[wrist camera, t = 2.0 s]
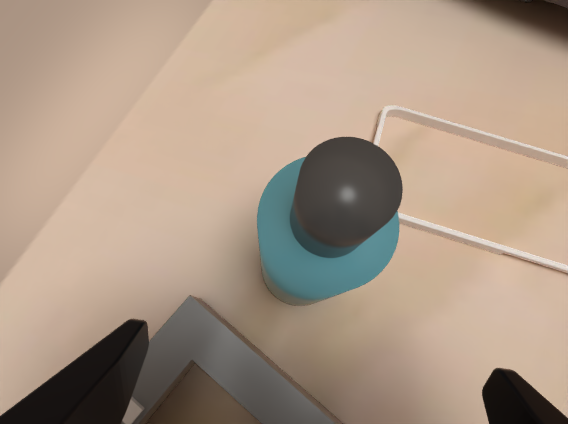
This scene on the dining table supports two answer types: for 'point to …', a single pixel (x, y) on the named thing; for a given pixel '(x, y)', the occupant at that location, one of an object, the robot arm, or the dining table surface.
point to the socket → (219, 370)
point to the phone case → (486, 139)
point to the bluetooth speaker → (562, 0)
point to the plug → (329, 221)
